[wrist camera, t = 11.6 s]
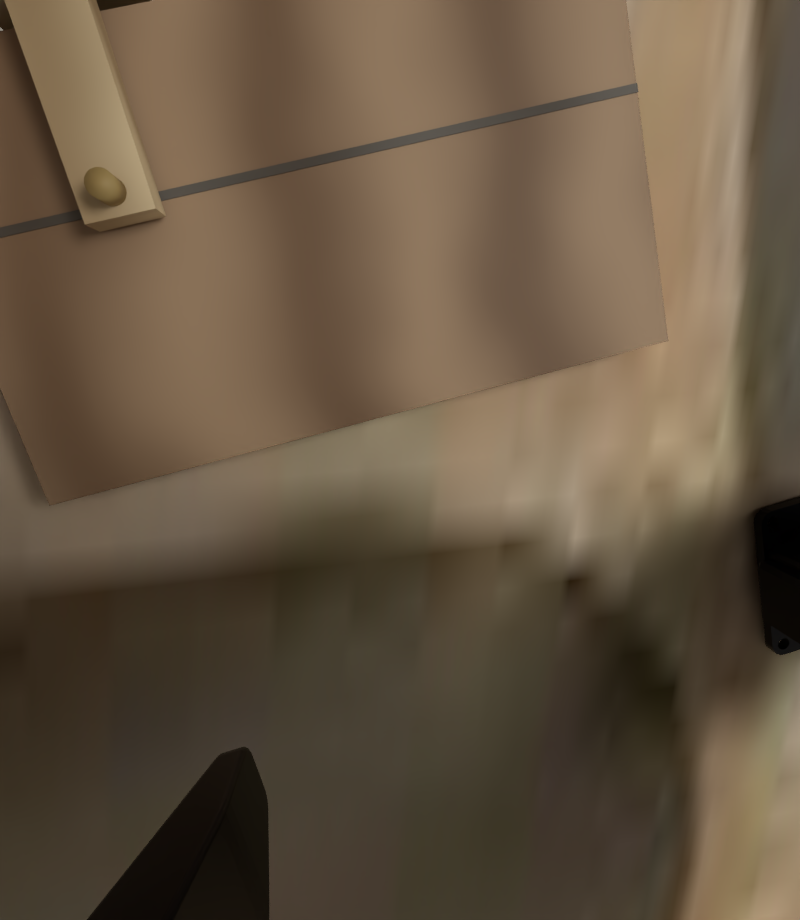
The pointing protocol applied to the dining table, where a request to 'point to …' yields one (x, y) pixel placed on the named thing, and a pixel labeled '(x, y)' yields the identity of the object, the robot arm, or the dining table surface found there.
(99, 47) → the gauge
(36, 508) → the dining table surface
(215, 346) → the board
